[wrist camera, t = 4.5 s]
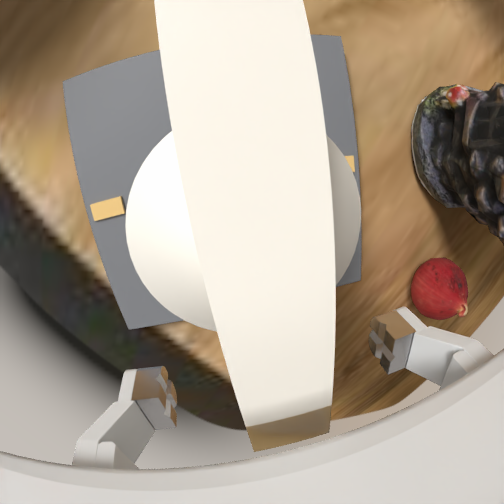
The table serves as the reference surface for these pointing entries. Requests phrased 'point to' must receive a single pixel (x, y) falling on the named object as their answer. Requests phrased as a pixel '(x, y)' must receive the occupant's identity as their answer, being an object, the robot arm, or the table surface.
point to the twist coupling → (249, 206)
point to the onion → (440, 289)
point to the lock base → (142, 143)
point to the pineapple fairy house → (463, 150)
